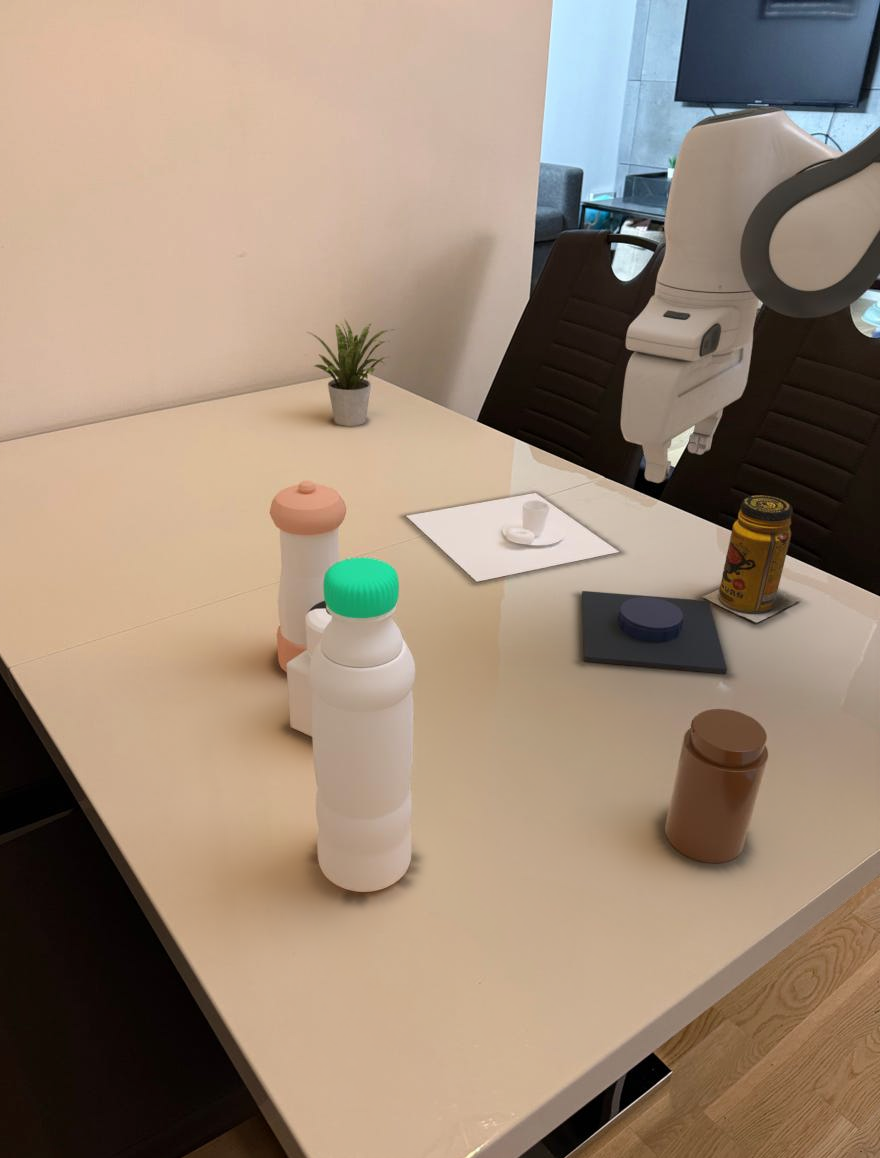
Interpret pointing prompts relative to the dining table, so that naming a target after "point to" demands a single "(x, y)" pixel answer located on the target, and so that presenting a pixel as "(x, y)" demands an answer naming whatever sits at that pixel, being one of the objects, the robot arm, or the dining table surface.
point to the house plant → (350, 376)
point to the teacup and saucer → (509, 536)
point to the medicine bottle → (305, 671)
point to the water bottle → (362, 729)
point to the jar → (716, 785)
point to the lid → (650, 619)
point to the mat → (684, 652)
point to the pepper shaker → (304, 557)
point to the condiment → (756, 560)
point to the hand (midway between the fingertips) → (677, 465)
